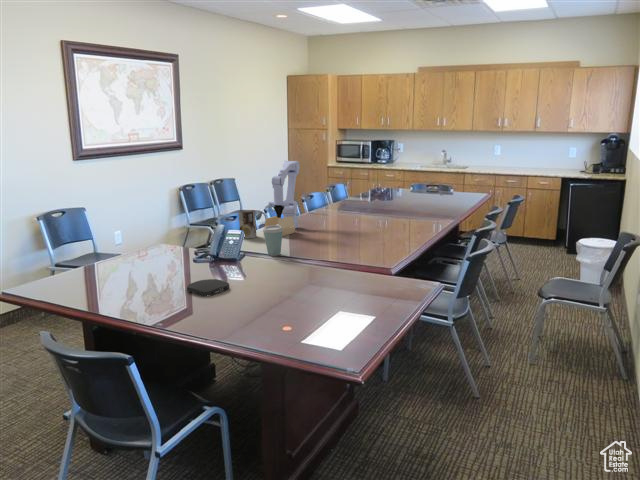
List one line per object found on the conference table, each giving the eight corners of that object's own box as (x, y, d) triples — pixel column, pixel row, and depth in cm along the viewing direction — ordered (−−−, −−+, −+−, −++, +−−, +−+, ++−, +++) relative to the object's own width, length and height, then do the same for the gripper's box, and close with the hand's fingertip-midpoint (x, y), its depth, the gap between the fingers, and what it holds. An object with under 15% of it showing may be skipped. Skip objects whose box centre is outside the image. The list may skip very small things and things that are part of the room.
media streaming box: (210, 283, 232) (210, 276, 231) (233, 289, 222) (232, 282, 222) (183, 291, 221) (182, 284, 220) (205, 298, 211) (205, 291, 211)
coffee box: (256, 236, 323) (255, 210, 320) (254, 238, 317) (253, 212, 314) (242, 236, 324) (241, 210, 321) (239, 238, 318) (238, 211, 314)
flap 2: (294, 225, 331) (291, 216, 330) (294, 225, 330) (292, 215, 330) (279, 229, 318) (277, 219, 318) (280, 229, 318) (277, 219, 318)
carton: (280, 230, 339) (280, 224, 338) (295, 232, 332) (295, 226, 332) (263, 235, 325) (263, 229, 324) (278, 237, 318) (278, 231, 317)
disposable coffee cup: (280, 257, 272) (279, 228, 269) (260, 256, 274) (259, 228, 271) (286, 252, 282) (285, 224, 279) (267, 251, 284) (265, 224, 281)
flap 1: (278, 223, 337) (280, 214, 335) (279, 223, 337) (281, 214, 334) (264, 227, 325) (266, 218, 323) (264, 227, 325) (266, 218, 322)
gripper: (265, 195, 324) (265, 217, 327) (284, 197, 316) (284, 219, 319) (272, 194, 330) (273, 215, 333) (291, 195, 322) (291, 217, 325)
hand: (279, 217), depth 326 cm, fingers closed
